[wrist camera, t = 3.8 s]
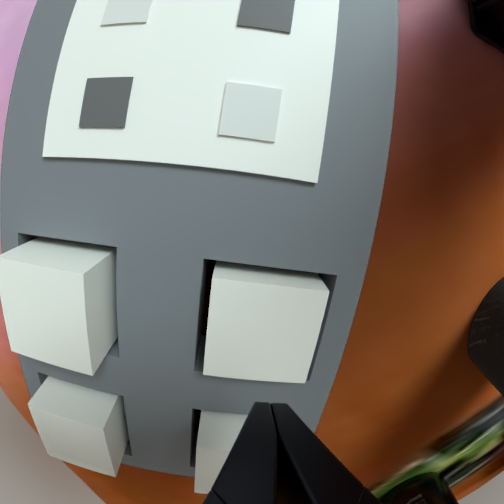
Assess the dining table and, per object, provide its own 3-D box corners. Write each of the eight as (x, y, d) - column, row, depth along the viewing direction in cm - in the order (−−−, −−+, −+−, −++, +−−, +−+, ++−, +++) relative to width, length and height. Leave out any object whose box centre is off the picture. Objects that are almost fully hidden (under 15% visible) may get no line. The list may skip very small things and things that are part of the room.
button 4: (310, 263, 14) (329, 291, 11) (293, 342, 15) (305, 383, 12) (218, 251, 14) (211, 277, 10) (209, 333, 15) (203, 374, 11)
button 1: (118, 247, 12) (83, 274, 9) (119, 334, 13) (93, 375, 10) (39, 236, 12) (-5, 256, 9) (46, 317, 13) (11, 350, 10)
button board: (372, -1, 11) (400, -31, 8) (287, 447, 18) (293, 486, 14) (81, -20, 10) (55, -47, 7) (63, 410, 17) (44, 442, 13)
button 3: (284, 406, 14) (293, 453, 11) (270, 453, 15) (275, 497, 12) (202, 398, 14) (196, 447, 11) (199, 448, 15) (194, 492, 12)
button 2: (123, 385, 14) (103, 429, 11) (129, 435, 15) (115, 477, 12) (55, 367, 14) (27, 403, 10) (68, 418, 15) (48, 455, 11)
